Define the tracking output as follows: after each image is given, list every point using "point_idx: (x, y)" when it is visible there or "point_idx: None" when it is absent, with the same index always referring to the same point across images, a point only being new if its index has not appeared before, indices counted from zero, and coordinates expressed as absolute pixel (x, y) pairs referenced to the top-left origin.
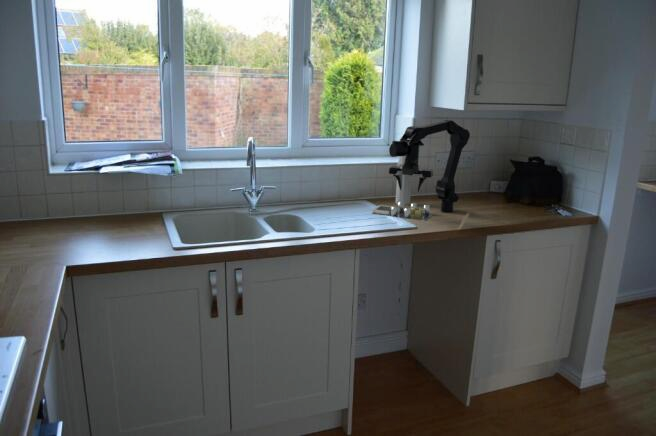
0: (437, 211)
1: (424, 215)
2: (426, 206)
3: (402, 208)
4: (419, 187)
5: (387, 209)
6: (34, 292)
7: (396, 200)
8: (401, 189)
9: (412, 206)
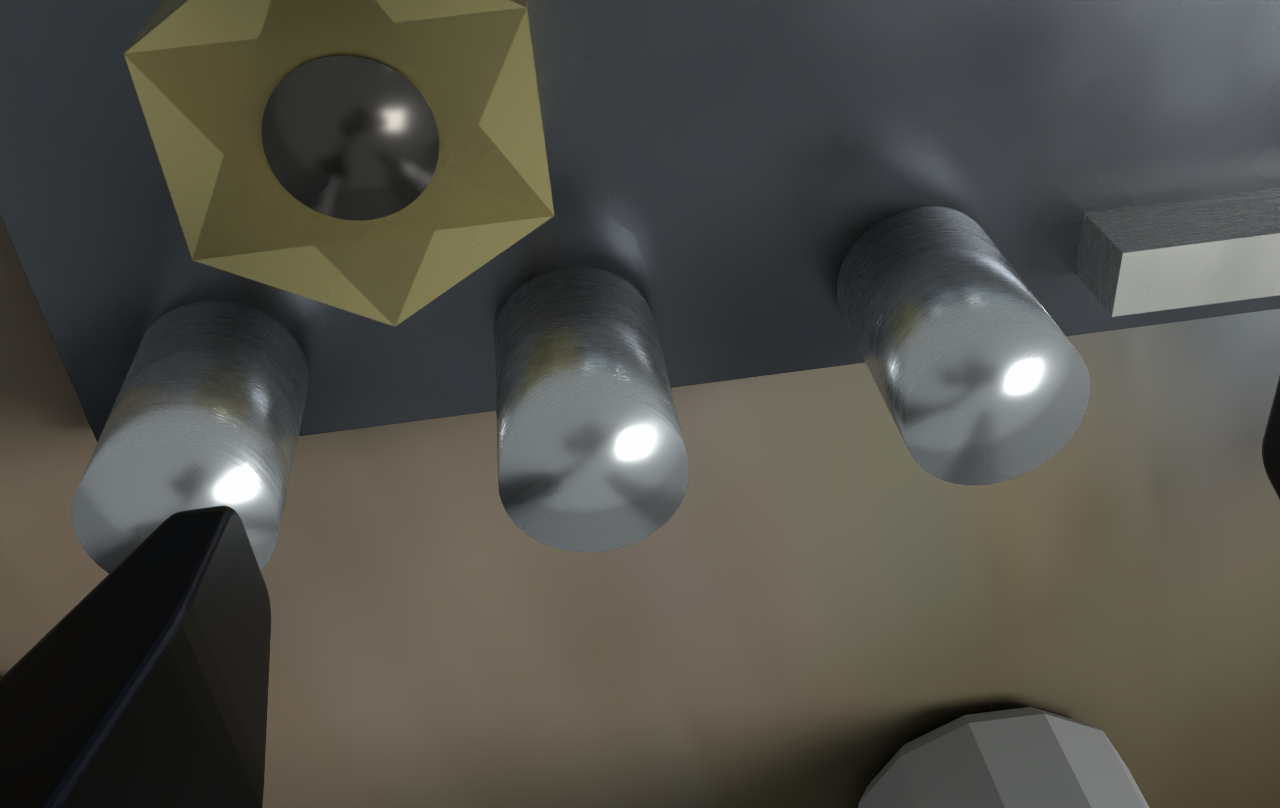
0: None
1: None
2: (142, 443)
3: (879, 282)
4: (7, 703)
5: (1260, 196)
6: None
7: (1137, 793)
8: (1270, 446)
9: (601, 366)
